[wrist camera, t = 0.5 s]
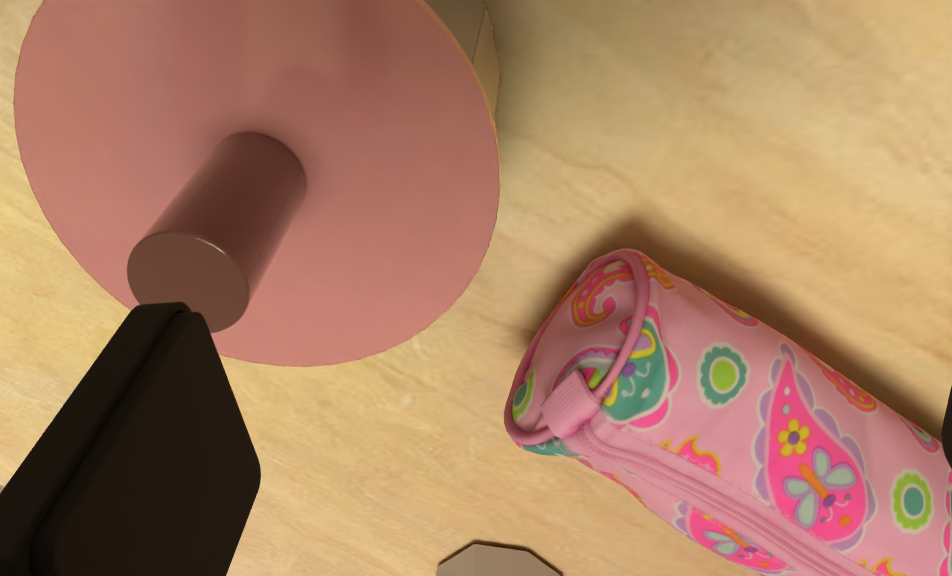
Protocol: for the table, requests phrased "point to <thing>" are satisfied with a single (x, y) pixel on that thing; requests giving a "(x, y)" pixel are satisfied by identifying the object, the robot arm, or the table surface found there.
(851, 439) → the pencil case
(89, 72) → the pink knobbed disc
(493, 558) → the flask
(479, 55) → the bowl
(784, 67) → the table surface
